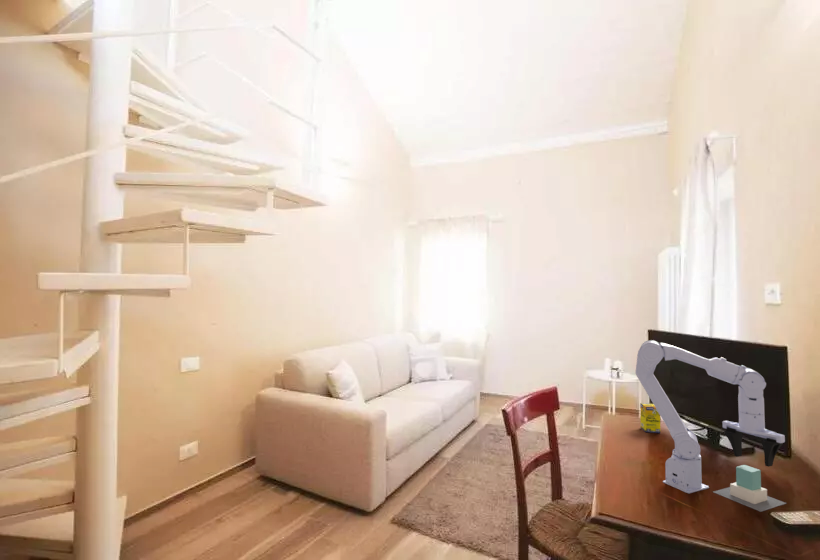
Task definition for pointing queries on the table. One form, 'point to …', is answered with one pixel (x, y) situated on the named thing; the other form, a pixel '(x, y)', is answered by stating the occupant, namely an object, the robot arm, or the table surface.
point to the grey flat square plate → (759, 506)
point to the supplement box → (649, 418)
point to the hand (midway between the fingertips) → (753, 460)
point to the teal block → (748, 477)
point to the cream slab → (748, 493)
